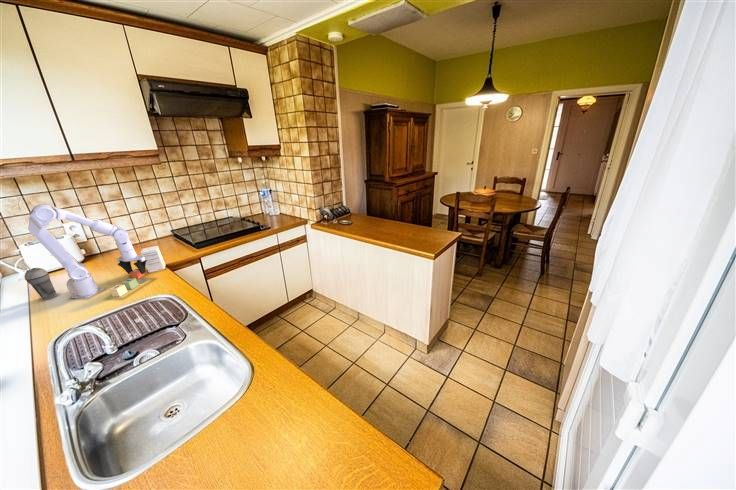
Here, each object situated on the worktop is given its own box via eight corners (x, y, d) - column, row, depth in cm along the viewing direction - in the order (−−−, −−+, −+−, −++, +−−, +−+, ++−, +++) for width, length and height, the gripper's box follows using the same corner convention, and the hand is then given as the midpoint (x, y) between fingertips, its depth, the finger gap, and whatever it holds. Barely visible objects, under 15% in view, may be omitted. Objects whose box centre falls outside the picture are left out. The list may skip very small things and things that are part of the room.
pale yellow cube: (112, 296, 124) (108, 289, 123) (120, 291, 128) (117, 284, 126) (120, 296, 124) (116, 289, 122) (128, 291, 127) (124, 284, 126)
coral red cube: (132, 279, 141) (129, 272, 139) (138, 275, 144) (135, 268, 143) (139, 279, 140) (135, 272, 139) (145, 275, 144) (142, 268, 142)
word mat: (106, 298, 124) (105, 297, 124) (139, 279, 140) (139, 278, 140) (123, 298, 123) (122, 297, 123) (155, 278, 139) (154, 278, 139)
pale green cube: (124, 289, 130) (120, 282, 128) (131, 285, 133) (128, 278, 132) (131, 289, 129) (128, 282, 128) (138, 285, 133) (135, 278, 131)
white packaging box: (150, 268, 152) (142, 248, 147) (166, 264, 155) (158, 245, 150) (148, 273, 146) (139, 252, 141) (164, 269, 149) (156, 249, 144)
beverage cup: (63, 294, 129) (41, 257, 122) (42, 302, 123) (17, 264, 116) (57, 291, 132) (35, 255, 125) (36, 299, 126) (11, 262, 119)
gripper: (146, 246, 139) (155, 269, 144) (121, 247, 141) (131, 269, 146) (134, 252, 133) (144, 275, 138) (108, 252, 134) (119, 276, 139)
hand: (137, 273), depth 141 cm, fingers open, 7 cm apart
